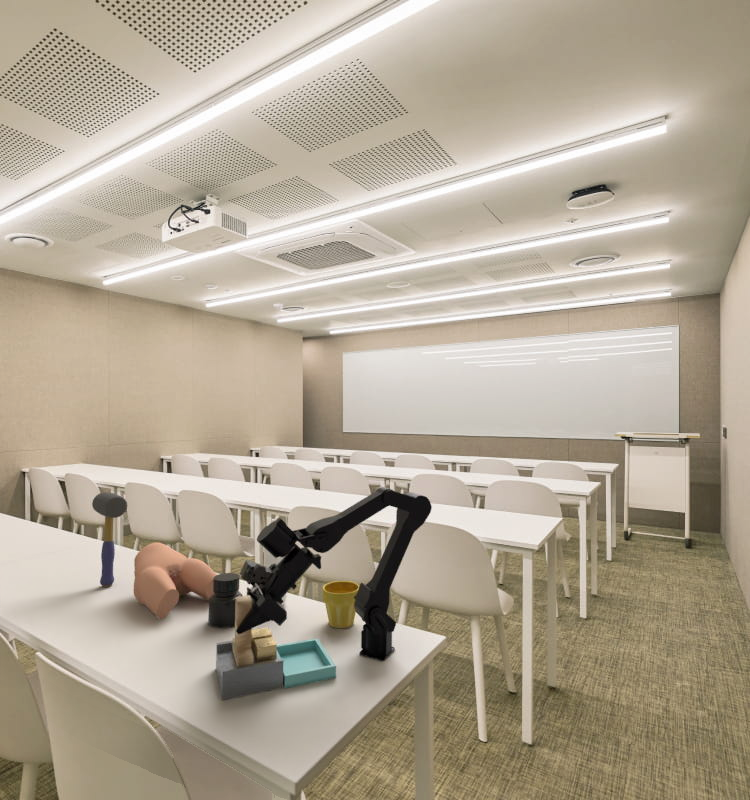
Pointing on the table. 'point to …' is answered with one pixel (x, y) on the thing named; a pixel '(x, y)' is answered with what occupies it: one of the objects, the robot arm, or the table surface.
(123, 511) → the rubber mallet
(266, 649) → the brass block
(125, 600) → the table surface
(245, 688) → the grey tray
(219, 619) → the ink bottle
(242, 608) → the light brown t-shaped block
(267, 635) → the brass block
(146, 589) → the medical training model
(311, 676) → the teal tray
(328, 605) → the plant pot
